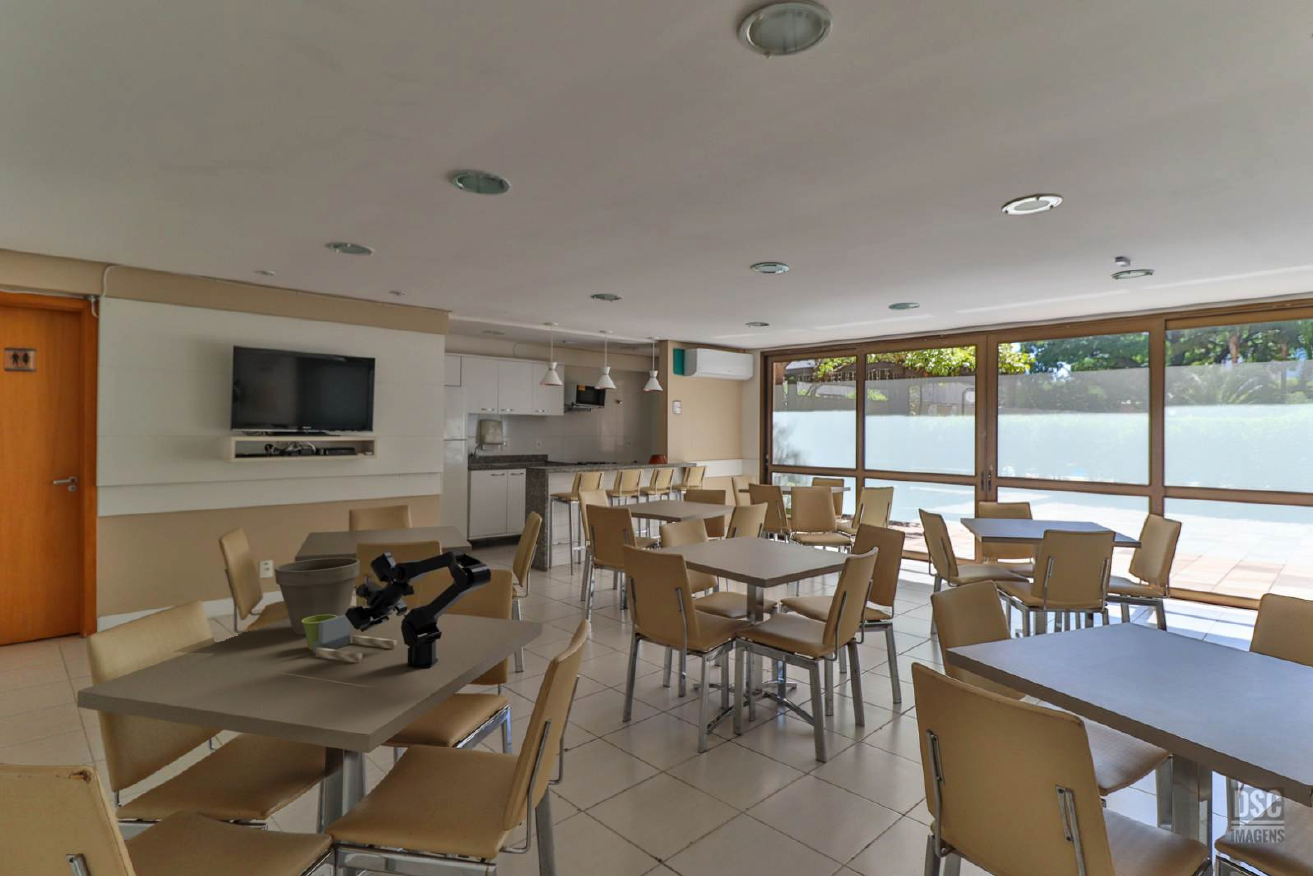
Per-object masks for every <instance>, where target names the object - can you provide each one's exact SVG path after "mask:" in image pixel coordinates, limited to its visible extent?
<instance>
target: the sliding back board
mask: <svg viewBox="0 0 1313 876" xmlns="http://www.w3.org/2000/svg"><path fill="white" fill-rule="evenodd" d="M350 645H351V623H350V621H349V620H348V618H347V617H346V616H345V615H342V616H338V617H335V618H332V619H328V620H325V621H321V622H319V641H316V642H313V650H312V653H313V654H316V648H319V647H320V648H327V649H335V650H339V649H341V648H343V647H344V648H345V647H346V646H347V647H348V646H350Z"/></svg>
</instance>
